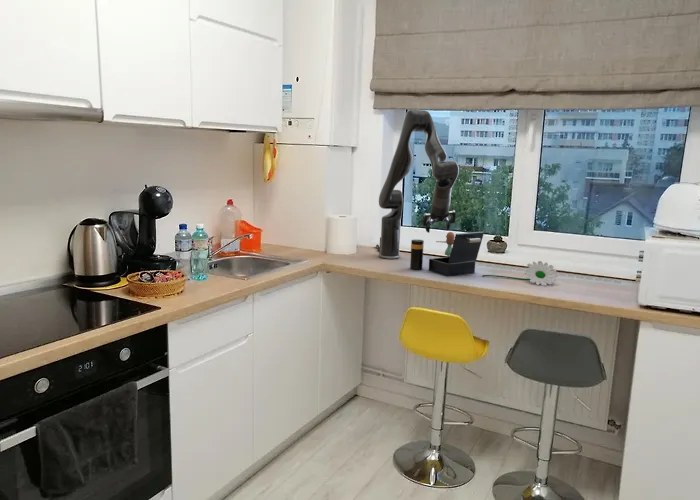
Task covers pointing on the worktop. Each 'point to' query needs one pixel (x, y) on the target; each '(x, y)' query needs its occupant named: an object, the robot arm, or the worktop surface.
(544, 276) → the flower
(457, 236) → the lid
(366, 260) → the worktop surface
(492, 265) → the worktop surface
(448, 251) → the toy
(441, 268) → the black box
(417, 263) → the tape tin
